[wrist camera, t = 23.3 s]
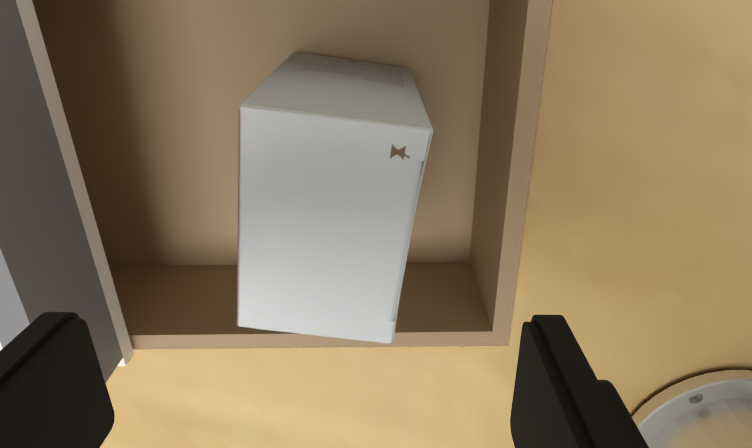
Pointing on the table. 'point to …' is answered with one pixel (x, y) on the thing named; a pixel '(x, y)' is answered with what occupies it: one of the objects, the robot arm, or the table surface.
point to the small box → (328, 196)
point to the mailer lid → (47, 203)
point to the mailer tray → (220, 150)
